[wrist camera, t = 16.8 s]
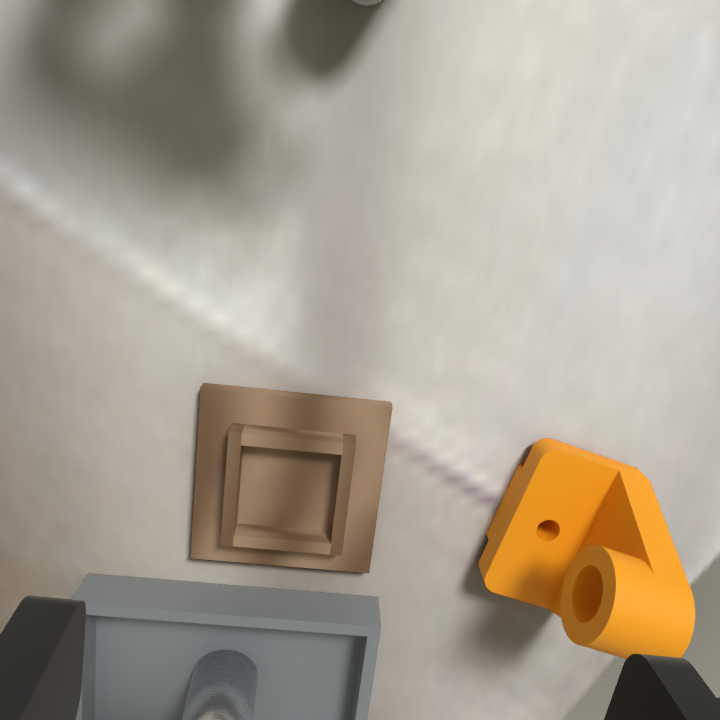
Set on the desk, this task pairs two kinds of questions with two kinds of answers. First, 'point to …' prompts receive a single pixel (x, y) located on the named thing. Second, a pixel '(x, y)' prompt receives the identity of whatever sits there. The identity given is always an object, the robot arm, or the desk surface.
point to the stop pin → (222, 688)
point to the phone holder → (367, 2)
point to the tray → (224, 647)
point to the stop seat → (288, 478)
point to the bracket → (590, 553)
